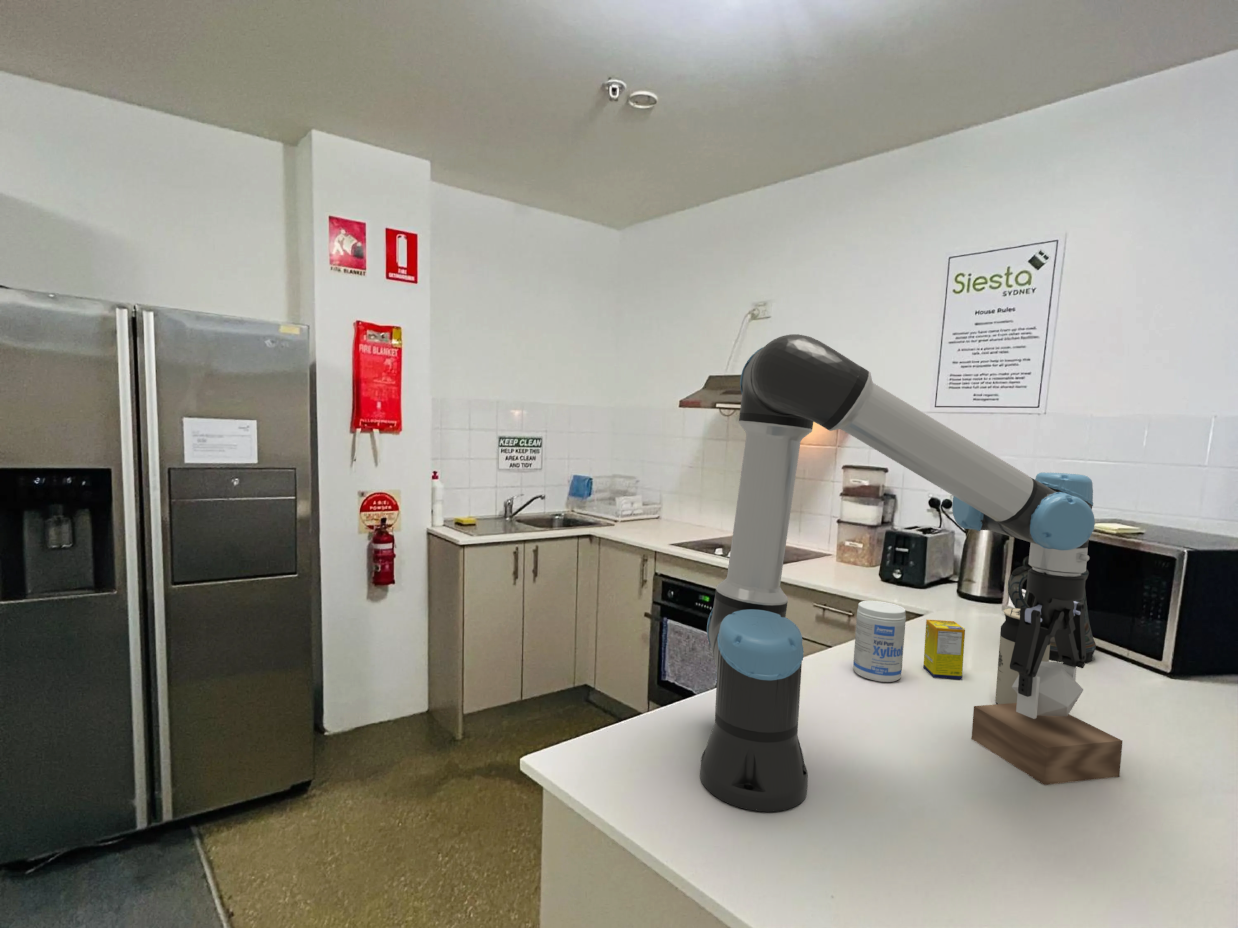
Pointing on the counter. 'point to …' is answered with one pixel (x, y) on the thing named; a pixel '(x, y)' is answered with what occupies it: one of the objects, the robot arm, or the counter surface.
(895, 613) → the supplement tub
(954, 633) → the supplement box
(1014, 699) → the travel mug
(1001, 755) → the walnut block
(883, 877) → the counter surface
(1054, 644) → the beer stein
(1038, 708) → the die
